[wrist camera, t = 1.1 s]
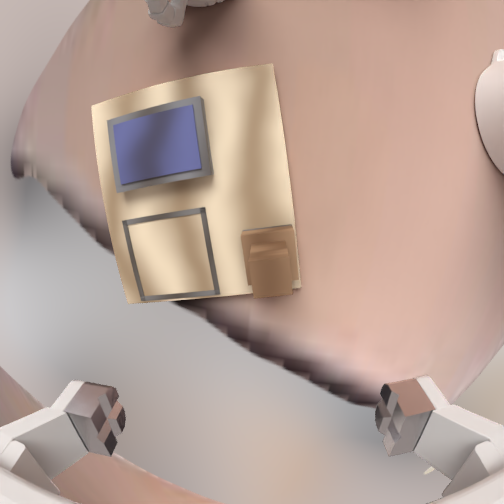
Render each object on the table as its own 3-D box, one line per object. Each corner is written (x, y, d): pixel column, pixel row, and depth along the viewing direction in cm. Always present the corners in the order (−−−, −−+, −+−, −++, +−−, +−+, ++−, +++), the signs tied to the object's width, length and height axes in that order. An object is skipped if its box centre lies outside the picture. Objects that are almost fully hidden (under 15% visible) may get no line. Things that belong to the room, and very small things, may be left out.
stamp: (291, 224, 27) (299, 244, 20) (296, 270, 28) (304, 302, 22) (242, 230, 28) (234, 251, 21) (249, 275, 29) (244, 309, 22)
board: (272, 66, 24) (272, 57, 21) (300, 283, 30) (302, 295, 27) (96, 107, 26) (82, 103, 23) (131, 299, 31) (121, 310, 29)
